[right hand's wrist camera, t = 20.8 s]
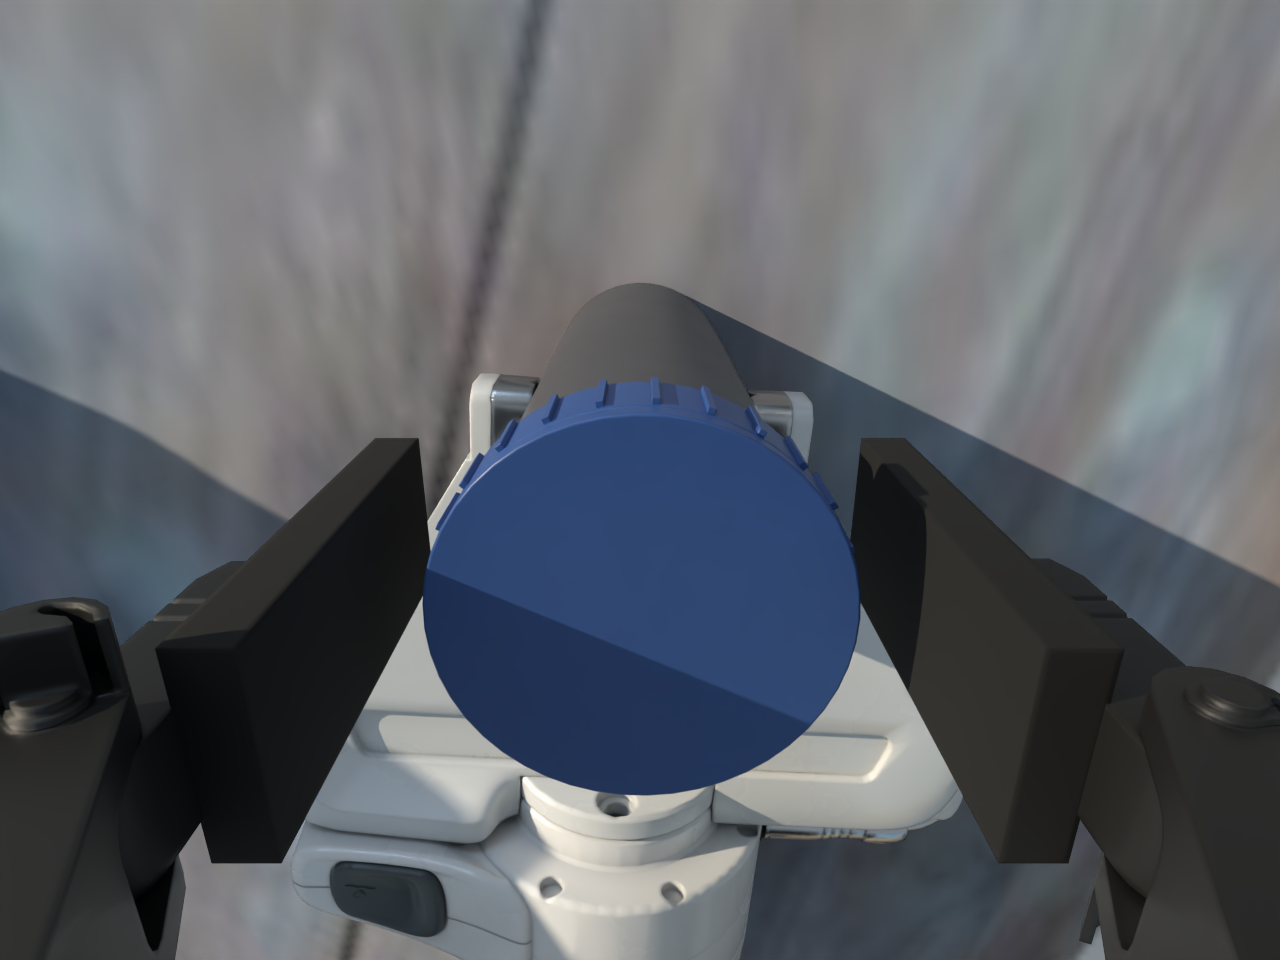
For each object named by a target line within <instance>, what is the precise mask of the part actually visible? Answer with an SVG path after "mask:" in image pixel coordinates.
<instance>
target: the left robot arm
mask: <svg viewBox="0 0 1280 960" xmlns="http://www.w3.org/2000/svg"><path fill="white" fill-rule="evenodd" d="M539 383H540V379H539V377H526V376H513V375H501V374H480V375H479V376H478V378H477V379H476V380H475V381H474V383H473V384H472V389H471V396H470V453H469V455H468V456H467V458H466V459H465V461H464V463H463V464H462V466H461V467H460V469H459V471H458V472H457V474H456V476H455V477H454V479H453V481H452V482H451V484H450V486H449V487H448V489H447V490H446V492H445V494H444V495H443V497H442V499H441V500H440V502H439V504H438V505H437V507H436V509H435V510H434V512H433V513H432V515H431V517H430V518H429V520H428V531H429V540H430V549H431V550H432V547H433V545H434V542H435V540H436V537H437V535H438V532H439V531H438V530H435V528H436V526H437V523H438V522H439V520H440V518H441V517H442V515H443V513H444V512H445V510H446V508H447V507H448V505H449V503H450V502H451V500H452V498H453V497H454V495H455V493H456V492H458V493H460V494H461V492H462V490H463V489H462V488H461V487H459V484H460V482H461V481H462V479H463V477H464V476H465V474H466V472H467V471H468V469H469V467H470V466H471V464H472V463H473V461H474V459H475V458H476V456H477V455H478V454H479V453H481V454H483V455H485V454H486V453H487V452H488V450H489V449H490V448H491V447H492V445H493V444H494V443H495V442H496V441H497V440H498V439H499V438H500V437H501V435H502V434H503V432H504V430H505V428H506V426H507V425H508V423H509V422H510V421H511V420H513V419H514V420H515V421H516V422H517V423H518V422H519V421H520V420H521V418H522V416H523V414H524V412H525V410H526V408H527V406H528V404H529V402H530V401H531V399H532V397H533V395H534V393H535V391H536V389H537V387H538V385H539ZM746 391H747V393H748V394H749V396H750V398H751V400H752V402H753V404H754V406H755V408H756V410H757V412H758V414H759V416H760V417H761V419H762V420H763V421H764V422H766V423H767V424H768V425H769V426H770V427H772V428H773V429H774V430H775V431H776V432H778V433H779V434H780V435H781V436H782V437H783V438H785V437H786V436H788V435H789V436H790V437H791V438H792V439H793V441H794V442H795V444H796V446H797V447H798V449H799V451H800V452H801V454H802V456H803V457H804V459H805V461H806V462H807V463H808V456H809V449H810V442H811V435H812V428H813V421H814V418H813V405H812V402H811V401H810V400H809V399H808V397H807V396H806V395H805V394H804V392H788V391H771V390H749V389H746ZM422 602H423V597H422V599H421V601H420V602H419V604H418V606H417V608H416V610H415V612H414V614H413V616H412V618H411V619H410V621H409V623H408V625H407V627H406V629H405V631H404V633H403V635H402V636H401V638H400V640H399V642H398V644H397V646H396V648H395V650H394V652H393V653H392V655H391V657H390V659H389V661H388V663H387V665H386V667H385V669H384V670H383V672H382V674H381V676H380V678H379V680H378V682H377V684H376V686H375V687H374V689H373V691H372V693H371V695H370V697H369V699H368V701H367V703H366V704H365V706H364V708H363V710H362V712H361V714H360V716H359V718H358V720H357V721H356V723H355V725H354V727H353V729H352V731H351V733H350V735H349V737H348V738H347V740H346V742H345V744H344V746H343V748H342V750H341V752H340V754H339V755H338V757H337V759H336V761H335V763H334V765H333V767H332V769H331V771H330V772H329V774H328V776H327V778H326V780H325V782H324V784H323V786H322V788H321V789H320V791H319V793H318V795H317V797H316V799H315V801H314V803H313V805H312V806H311V808H310V810H309V812H308V814H307V816H306V818H305V820H306V821H305V824H304V826H303V829H302V832H301V835H300V838H299V840H298V843H297V846H296V849H295V852H294V855H293V858H292V863H291V874H292V881H293V886H294V889H295V891H296V893H297V895H298V896H299V897H300V898H301V899H302V900H303V901H304V902H305V903H306V904H308V905H310V906H311V907H314V908H316V909H318V910H321V911H324V912H327V913H330V914H334V915H337V916H341V917H345V918H348V919H352V920H355V921H359V922H363V923H366V924H369V925H373V926H376V927H379V928H383V929H386V930H389V931H392V932H395V933H398V934H401V935H404V936H407V937H410V938H412V939H415V940H418V941H420V942H423V943H425V944H428V945H431V946H433V947H435V948H438V949H440V950H442V951H444V952H447V953H449V954H451V955H453V956H455V957H457V958H459V959H461V960H739V959H740V956H741V952H742V948H743V944H744V940H745V933H746V927H747V921H748V914H749V908H750V901H751V894H752V888H753V881H754V874H755V868H756V862H757V855H758V848H759V842H760V840H761V838H770V839H789V840H820V839H821V840H825V839H829V838H830V839H836V838H844V839H846V838H848V839H860V840H861V841H862V842H867V843H875V844H887V843H896V842H900V841H904V840H905V839H906V837H907V833H908V831H910V830H917V829H921V828H924V827H927V826H929V825H931V824H933V823H935V822H937V821H939V820H945V819H948V818H950V817H952V816H953V814H954V813H955V812H956V811H957V809H958V808H959V806H960V804H961V802H962V798H963V795H962V793H961V791H960V790H959V788H958V786H957V784H956V782H955V780H954V778H953V776H952V774H951V773H950V771H949V769H948V767H947V765H946V763H945V761H944V759H943V757H942V756H941V754H940V752H939V750H938V748H937V746H936V744H935V742H934V740H933V739H932V737H931V735H930V733H929V731H928V729H927V727H926V725H925V723H924V722H923V720H922V718H921V716H920V714H919V712H918V710H917V708H916V706H915V705H914V703H913V701H912V699H911V697H910V695H909V693H908V691H907V689H906V688H905V686H904V684H903V682H902V680H901V678H900V676H899V674H898V672H897V671H896V669H895V667H894V665H893V663H892V661H891V659H890V657H889V655H888V654H887V652H886V650H885V648H884V646H883V644H882V642H881V640H880V638H879V637H878V635H877V633H876V631H875V629H874V627H873V625H872V623H871V621H870V620H869V618H868V616H867V614H866V612H865V610H864V608H863V606H862V604H861V618H860V624H859V630H858V636H857V642H856V646H855V649H854V652H853V655H852V658H851V662H850V665H849V668H848V670H847V672H846V674H845V676H844V678H843V680H842V682H841V684H840V686H839V689H838V690H837V692H836V693H835V695H834V696H833V698H832V699H831V701H830V702H829V704H828V705H827V707H826V708H825V710H824V711H823V712H822V713H821V715H820V716H819V717H818V718H817V719H816V720H815V722H814V723H813V724H812V725H811V726H810V727H809V729H807V730H806V731H805V732H804V733H803V734H802V735H801V736H800V737H799V738H797V739H796V740H795V741H794V742H793V743H792V744H791V745H790V746H788V747H787V748H785V749H784V750H783V751H781V752H780V753H778V754H777V755H776V756H774V757H773V758H771V759H770V760H768V761H766V762H765V763H763V764H761V765H759V766H757V767H756V768H754V769H752V770H750V771H748V772H746V773H744V774H741V775H739V776H737V777H734V778H732V779H729V780H727V781H724V782H721V783H718V784H715V785H711V786H708V787H704V788H701V789H697V790H691V791H686V792H680V793H675V794H663V795H650V796H641V795H618V794H611V793H603V792H596V791H592V790H587V789H583V788H579V787H575V786H571V785H568V784H565V783H562V782H560V781H557V780H554V779H551V778H548V777H546V776H544V775H542V774H540V773H538V772H536V771H534V770H531V769H529V768H527V767H525V766H523V765H522V764H520V763H519V762H517V761H515V760H514V759H512V758H511V757H509V756H508V755H506V754H504V753H503V752H502V751H500V750H499V749H498V748H497V747H495V746H494V745H493V744H492V743H490V742H489V741H488V740H487V739H485V738H484V737H483V736H482V735H481V734H480V733H479V732H478V731H477V730H476V729H475V728H474V727H473V726H472V725H471V724H470V722H469V721H468V720H467V719H466V718H465V717H464V716H463V714H462V713H461V712H460V710H459V709H458V708H457V706H456V705H455V703H454V702H453V701H452V699H451V698H450V696H449V694H448V693H447V691H446V689H445V687H444V685H443V684H442V682H441V680H440V678H439V676H438V673H437V671H436V668H435V666H434V663H433V660H432V658H431V655H430V652H429V647H428V643H427V639H426V634H425V630H424V619H423V605H422Z"/></svg>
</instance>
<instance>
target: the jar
mask: <svg viewBox="0 0 1280 960" xmlns="http://www.w3.org/2000/svg"><path fill="white" fill-rule="evenodd" d="M651 377H659V382H661V383H669V384H675V385H681V386H687V387H691V388H695V389H698V390H701V388H702V386H707V387H709V388H710V391H711V393H712V394H715V395H717V396H719V397H722V398H724V399H726V400H728V401H730V402H733V403H735V404H737V405H739V406H741V407H743V408H744V409H747V408H748V406H749V405H750V406H752V407H753V408H755V406H754V404H753V402H752V400H751V398H750V396H749V394H748V393H747V391H746V389H745V387H744V385H743V383H742V381H741V379H740V377H739V375H738V373H737V371H736V369H735V368H734V366H733V364H732V362H731V360H730V358H729V356H728V354H727V352H726V350H725V348H724V346H723V344H722V343H721V341H720V339H719V337H718V335H717V333H716V331H715V329H714V327H713V325H712V323H711V322H710V320H709V319H708V317H707V316H706V315H705V313H704V312H703V311H702V310H701V309H700V308H699V307H698V306H697V305H696V304H695V303H694V302H693V301H691V300H690V299H689V298H687V297H686V296H684V295H682V294H681V293H679V292H677V291H675V290H672V289H670V288H667V287H664V286H661V285H655V284H648V283H635V284H626V285H622V286H618V287H615V288H612V289H609V290H607V291H605V292H603V293H601V294H599V295H597V296H596V297H594V298H593V299H592V300H590V301H589V302H588V303H587V304H586V305H585V306H584V307H583V308H581V309H580V311H579V312H578V313H577V314H576V316H575V317H574V318H573V320H572V321H571V323H570V325H569V326H568V328H567V330H566V332H565V334H564V336H563V338H562V340H561V342H560V344H559V346H558V348H557V350H556V352H555V354H554V356H553V358H552V359H551V361H550V363H549V365H548V367H547V369H546V371H545V373H544V375H543V377H542V379H541V381H540V383H539V385H538V387H537V389H536V391H535V393H534V395H533V397H532V399H531V401H530V402H529V404H528V406H527V408H526V410H525V412H524V414H523V416H522V418H521V420H522V419H523V418H525V417H526V416H528V415H529V414H531V413H532V412H533V411H535V410H537V409H539V408H541V407H543V406H545V405H547V404H548V401H549V399H550V397H551V396H553V395H555V394H558V396H559V398H562V397H564V396H567V395H570V394H572V393H575V392H578V391H581V390H584V389H589V388H593V387H598V385H599V381H600V380H607V383H608V384H615V383H626V382H651ZM755 409H756V408H755ZM756 411H757V410H756ZM757 413H758V412H757ZM758 415H759V414H758ZM759 417H760V416H759ZM760 419H761V417H760ZM521 420H520V421H521Z"/></svg>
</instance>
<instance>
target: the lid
mask: <svg viewBox="0 0 1280 960" xmlns="http://www.w3.org/2000/svg"><path fill="white" fill-rule="evenodd" d="M808 467H809V466H808V464H807V462H806V461H805V459H804V457H803V456H802V454H801V452H800V451H799V449H798V447H797V446H796V444H795V442H794V441H793V439H792V438H791V437H790V436H789V435H788V436H786V437H785V438H783V437H782V436H781V435H780V434H779V433H778V432H776V431H775V430H774V429H773V428H772V427H770V426H769V425H768V424H767V423H766V422H764V421H763V420H762V419H760V417H759V415H758V413H757V411H756V409H755V408H753V407H752V406H750V405H749V406H748V408H747V409H744V408H743V407H741V406H739V405H737V404H735V403H733V402H730V401H728V400H726V399H724V398H722V397H719V396H717V395H715V394H712V393H711V391H710V388H709V387H707V386H702V388H701V390H698V389H695V388H691V387H687V386H681V385H675V384H669V383H661V382H659V377H651V382H626V383H615V384H608V383H607V380H600V381H599V385H598V387H593V388H589V389H584V390H581V391H578V392H575V393H572V394H570V395H567V396H564V397H562V398H559V396H558V394H555V395H553V396H551V397H550V399H549V401H548V404H547V405H545V406H543V407H541V408H539V409H537V410H535V411H533V412H532V413H531V414H529V415H528V416H526V417H525V418H523V419H522V420H521V421H519V422H518V423H517V422H516V421H515V420H514V419H513V420H511V421H510V422H509V423H508V425H507V426H506V428H505V430H504V432H503V434H502V435H501V437H500V438H499V439H498V440H497V441H496V442H495V443H494V444H493V445H492V447H491V448H490V449H489V450H488V452H487V453H486V454H485V455H483V454H481V453H479V454H478V455H477V456H476V458H475V459H474V461H473V463H472V464H471V466H470V467H469V469H468V471H467V472H466V474H465V476H464V477H463V479H462V481H461V482H460V484H459V487H461V488H462V489H463V490H462V492H461V494H460V493H458V492H456V493H455V495H454V497H453V498H452V500H451V502H450V503H449V505H448V507H447V508H446V510H445V512H444V513H443V515H442V517H441V518H440V520H439V522H438V523H437V526H436V528H435V530H438V531H439V532H438V535H437V537H436V540H435V542H434V545H433V547H432V550H431V552H430V556H429V560H428V565H427V568H426V571H425V578H424V589H423V602H422V605H423V619H424V630H425V634H426V639H427V643H428V647H429V652H430V655H431V658H432V660H433V663H434V666H435V668H436V671H437V673H438V676H439V678H440V680H441V682H442V684H443V685H444V687H445V689H446V691H447V693H448V694H449V696H450V698H451V699H452V701H453V702H454V703H455V705H456V706H457V708H458V709H459V710H460V712H461V713H462V714H463V716H464V717H465V718H466V719H467V720H468V721H469V722H470V724H471V725H472V726H473V727H474V728H475V729H476V730H477V731H478V732H479V733H480V734H481V735H482V736H483V737H484V738H485V739H487V740H488V741H489V742H490V743H492V744H493V745H494V746H495V747H497V748H498V749H499V750H500V751H502V752H503V753H504V754H506V755H508V756H509V757H511V758H512V759H514V760H515V761H517V762H519V763H520V764H522V765H523V766H525V767H527V768H529V769H531V770H534V771H536V772H538V773H540V774H542V775H544V776H546V777H548V778H551V779H554V780H557V781H560V782H562V783H565V784H568V785H571V786H575V787H579V788H583V789H587V790H592V791H596V792H603V793H611V794H618V795H641V796H650V795H663V794H675V793H680V792H686V791H691V790H697V789H701V788H704V787H708V786H711V785H715V784H718V783H721V782H724V781H727V780H729V779H732V778H734V777H737V776H739V775H741V774H744V773H746V772H748V771H750V770H752V769H754V768H756V767H757V766H759V765H761V764H763V763H765V762H766V761H768V760H770V759H771V758H773V757H774V756H776V755H777V754H778V753H780V752H781V751H783V750H784V749H785V748H787V747H788V746H790V745H791V744H792V743H793V742H794V741H795V740H796V739H797V738H799V737H800V736H801V735H802V734H803V733H804V732H805V731H806V730H807V729H809V727H810V726H811V725H812V724H813V723H814V722H815V720H816V719H817V718H818V717H819V716H820V715H821V713H822V712H823V711H824V710H825V708H826V707H827V705H828V704H829V702H830V701H831V699H832V698H833V696H834V695H835V693H836V692H837V690H838V689H839V686H840V684H841V682H842V680H843V678H844V676H845V674H846V672H847V670H848V668H849V665H850V662H851V658H852V655H853V652H854V649H855V646H856V642H857V636H858V630H859V624H860V618H861V591H860V584H859V577H858V570H857V565H856V562H855V559H854V555H853V553H855V550H854V546H853V545H852V543H851V541H850V540H849V538H848V536H847V535H846V533H845V531H844V529H843V528H842V525H841V523H840V521H839V519H838V517H837V516H836V514H835V512H834V511H833V510H835V509H837V508H838V505H837V504H836V502H835V500H834V499H833V497H832V495H831V494H830V492H829V490H828V489H827V487H826V486H825V484H824V482H823V481H822V479H821V478H820V476H819V474H818V473H817V472H816V473H814V474H811V472H810V471H809V469H808Z"/></svg>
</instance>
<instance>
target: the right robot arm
mask: <svg viewBox="0 0 1280 960" xmlns="http://www.w3.org/2000/svg"><path fill="white" fill-rule="evenodd" d="M850 541H851V543H852V545H853V546H854V550H855V553H853V555H854V559H855V562H856V565H857V570H858V577H859V584H860V591H861V604H862V606H863V608H864V610H865V612H866V614H867V616H868V618H869V620H870V621H871V623H872V625H873V627H874V629H875V631H876V633H877V635H878V637H879V638H880V640H881V642H882V644H883V646H884V648H885V650H886V652H887V654H888V655H889V657H890V659H891V661H892V663H893V665H894V667H895V669H896V671H897V672H898V674H899V676H900V678H901V680H902V682H903V684H904V686H905V688H906V689H907V691H908V693H909V695H910V697H911V699H912V701H913V703H914V705H915V706H916V708H917V710H918V712H919V714H920V716H921V718H922V720H923V722H924V723H925V725H926V727H927V729H928V731H929V733H930V735H931V737H932V739H933V740H934V742H935V744H936V746H937V748H938V750H939V752H940V754H941V756H942V757H943V759H944V761H945V763H946V765H947V767H948V769H949V771H950V773H951V774H952V776H953V778H954V780H955V782H956V784H957V786H958V788H959V790H960V791H961V793H962V795H963V797H964V799H965V801H966V803H967V805H968V807H969V808H970V810H971V812H972V814H973V816H974V818H975V820H976V822H977V824H978V825H979V827H980V829H981V831H982V833H983V835H984V837H985V839H986V841H987V842H988V844H989V846H990V848H991V850H992V852H993V854H994V856H995V858H996V859H997V861H998V863H1069V859H1070V855H1071V851H1072V847H1073V844H1074V840H1075V836H1076V832H1077V829H1078V825H1079V821H1080V820H1081V821H1082V823H1083V824H1084V826H1085V827H1086V828H1087V830H1088V831H1089V833H1090V834H1091V836H1092V837H1093V839H1094V840H1095V841H1096V843H1097V844H1098V846H1099V847H1100V849H1101V850H1102V855H1101V859H1100V862H1099V866H1098V869H1097V873H1096V876H1095V880H1094V883H1093V887H1092V890H1091V894H1090V897H1089V901H1088V904H1087V908H1086V911H1085V915H1084V918H1083V922H1082V927H1081V933H1080V939H1079V941H1082V942H1085V943H1088V944H1091V943H1092V940H1093V937H1094V933H1095V930H1096V927H1098V926H1099V925H1100V927H1101V934H1102V940H1103V947H1104V953H1105V960H1280V694H1279V693H1278V692H1276V691H1275V690H1273V689H1270V688H1268V687H1266V686H1263V685H1261V684H1259V683H1256V682H1254V681H1252V680H1249V679H1247V678H1245V677H1241V676H1237V675H1234V674H1230V673H1226V672H1223V671H1219V670H1215V669H1209V668H1199V667H1190V666H1185V665H1184V664H1183V663H1182V662H1181V661H1180V660H1179V659H1178V658H1176V657H1175V656H1174V655H1173V654H1172V653H1171V652H1170V651H1168V650H1167V649H1166V648H1165V647H1164V646H1163V645H1162V644H1160V643H1159V642H1158V641H1157V640H1156V639H1155V638H1154V637H1152V636H1151V635H1150V634H1149V633H1148V632H1147V631H1146V630H1145V629H1143V628H1142V627H1141V626H1140V625H1139V624H1138V623H1137V622H1135V621H1134V620H1133V619H1132V618H1127V614H1126V613H1125V612H1124V611H1123V610H1122V609H1121V608H1119V607H1118V606H1117V605H1116V604H1115V603H1114V602H1113V601H1107V596H1106V595H1105V594H1104V593H1102V592H1101V591H1100V590H1099V589H1098V588H1097V587H1096V586H1094V585H1093V584H1092V583H1091V582H1090V581H1089V580H1088V579H1087V578H1085V577H1084V576H1083V575H1081V574H1079V573H1077V572H1075V571H1073V570H1071V569H1069V568H1067V567H1065V566H1063V565H1061V564H1059V563H1057V562H1055V561H1053V560H1051V559H1031V558H1030V557H1029V556H1028V555H1027V554H1025V553H1024V552H1023V551H1022V550H1021V549H1020V548H1019V547H1018V546H1017V545H1016V544H1015V543H1014V542H1013V541H1012V540H1011V539H1010V538H1009V537H1008V536H1007V535H1006V534H1004V533H1003V532H1002V531H1001V530H1000V529H999V528H998V527H997V526H996V525H995V524H994V523H993V522H992V521H991V520H990V519H989V518H988V517H987V516H986V515H985V514H984V513H982V512H981V511H980V510H979V509H978V508H977V507H976V506H975V505H974V504H973V503H972V502H971V501H970V500H969V499H968V498H967V497H966V496H965V495H964V494H963V493H961V492H960V491H959V490H958V489H957V488H956V487H955V486H954V485H953V484H952V483H951V482H950V481H949V480H948V479H947V478H946V477H945V476H944V475H943V474H942V473H941V472H939V471H938V470H937V469H936V468H935V467H934V466H933V465H932V464H931V463H930V462H929V461H928V460H927V459H926V458H925V457H924V456H923V455H922V454H921V453H920V452H918V451H917V450H916V449H915V448H914V447H913V446H912V445H911V444H910V443H909V442H908V441H907V440H906V439H905V438H861V448H860V457H859V466H858V475H857V484H856V494H855V503H854V512H853V521H852V531H851V540H850ZM430 552H431V549H430V540H429V531H428V522H427V512H426V503H425V494H424V485H423V475H422V466H421V457H420V448H419V439H418V438H375V439H374V440H373V441H372V442H371V443H370V444H369V445H368V446H367V447H366V448H365V449H364V450H363V451H361V452H360V453H359V454H358V455H357V456H356V457H355V458H354V459H353V460H352V461H351V462H350V463H349V464H348V465H347V466H346V467H345V468H344V469H343V470H342V471H341V472H339V473H338V474H337V475H336V476H335V477H334V478H333V479H332V480H331V481H330V482H329V483H328V484H327V485H326V486H325V487H324V488H323V489H322V490H321V491H320V492H318V493H317V494H316V495H315V496H314V497H313V498H312V499H311V500H310V501H309V502H308V503H307V504H306V505H305V506H304V507H303V508H302V509H301V510H300V511H299V512H298V513H296V514H295V515H294V516H293V517H292V518H291V519H290V520H289V521H288V522H287V523H286V524H285V525H284V526H283V527H282V528H281V529H280V530H279V531H278V532H277V533H275V534H274V535H273V536H272V537H271V538H270V539H269V540H268V541H267V542H266V543H265V544H264V545H263V546H262V547H261V548H260V549H259V550H258V551H257V552H256V553H255V554H253V555H252V556H251V557H250V558H249V559H248V560H247V561H231V562H229V563H227V564H225V565H223V566H221V567H219V568H217V569H215V570H213V571H211V572H209V573H207V574H205V575H203V576H201V577H200V578H198V579H196V580H195V581H194V582H193V583H192V584H190V585H189V586H188V587H187V588H186V589H185V590H184V591H183V592H181V593H180V594H179V595H178V596H177V597H176V598H175V599H174V602H173V604H168V605H167V606H166V607H165V608H163V609H162V610H161V611H160V612H159V613H158V614H157V615H155V616H154V621H149V622H148V623H146V624H145V625H144V626H143V627H142V628H141V629H140V630H139V631H137V632H136V633H135V634H134V635H133V636H132V637H131V638H130V639H128V640H127V641H126V642H125V643H124V644H123V645H122V646H121V647H119V644H118V640H117V636H116V633H115V629H114V626H113V622H112V619H111V615H110V612H109V608H108V607H107V606H106V605H104V604H102V603H100V602H99V601H97V600H93V599H84V598H75V597H72V598H61V599H50V600H43V601H38V602H34V603H29V604H25V605H21V606H16V607H12V608H9V609H7V610H4V611H1V612H0V960H175V956H176V949H177V942H178V936H179V929H180V923H181V916H182V910H183V903H184V897H185V890H186V887H185V880H184V873H183V869H182V866H181V862H180V859H179V855H178V854H179V853H180V851H181V850H182V849H183V847H184V846H185V844H186V843H187V841H188V840H189V838H190V837H191V836H192V834H193V833H194V831H195V830H196V828H197V827H198V825H199V824H200V823H201V825H202V829H203V832H204V836H205V840H206V844H207V848H208V851H209V855H210V859H211V863H282V861H283V859H284V857H285V856H286V854H287V852H288V850H289V848H290V846H291V844H292V842H293V840H294V839H295V837H296V835H297V833H298V831H299V829H300V827H301V825H302V823H303V822H304V820H305V818H306V816H307V814H308V812H309V810H310V808H311V806H312V805H313V803H314V801H315V799H316V797H317V795H318V793H319V791H320V789H321V788H322V786H323V784H324V782H325V780H326V778H327V776H328V774H329V772H330V771H331V769H332V767H333V765H334V763H335V761H336V759H337V757H338V755H339V754H340V752H341V750H342V748H343V746H344V744H345V742H346V740H347V738H348V737H349V735H350V733H351V731H352V729H353V727H354V725H355V723H356V721H357V720H358V718H359V716H360V714H361V712H362V710H363V708H364V706H365V704H366V703H367V701H368V699H369V697H370V695H371V693H372V691H373V689H374V687H375V686H376V684H377V682H378V680H379V678H380V676H381V674H382V672H383V670H384V669H385V667H386V665H387V663H388V661H389V659H390V657H391V655H392V653H393V652H394V650H395V648H396V646H397V644H398V642H399V640H400V638H401V636H402V635H403V633H404V631H405V629H406V627H407V625H408V623H409V621H410V619H411V618H412V616H413V614H414V612H415V610H416V608H417V606H418V604H419V602H420V601H421V599H422V597H423V589H424V578H425V571H426V568H427V565H428V560H429V556H430Z"/></svg>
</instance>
